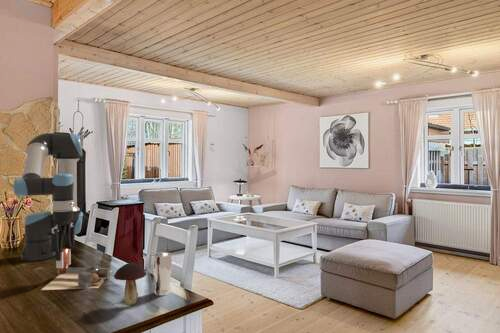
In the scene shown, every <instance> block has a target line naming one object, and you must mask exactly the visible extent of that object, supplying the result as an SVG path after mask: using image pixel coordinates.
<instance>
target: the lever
mask: <svg viewBox="0 0 500 333" xmlns="http://www.w3.org/2000/svg"><path fill="white" fill-rule="evenodd" d="M62 252H63V268H57V274H58V275H60V274H78V273H81V272H88V273H96V274H98V276H99V278H106V279H108V278H109V277H110V275H111V273H110V270H111V269H110V268H111V267H102V266H101V267H99V266H91V267H79V266H77V267H75V266H73V267H72V266H71V267H70V265H69V248H65V247H62Z"/></svg>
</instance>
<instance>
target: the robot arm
mask: <svg viewBox="0 0 500 333" xmlns="http://www.w3.org/2000/svg"><path fill="white" fill-rule="evenodd" d="M25 153H26V158H25V159H26V160H25V164H24V167H23V171H22V172H23V173H22V176H21V177H18V178H17V177H16V178H15V179H14V182H13V192H14V194H15V195H16V196H19V197H21V196H23V197H24V196H25V197H28V196H52V210H53V212H52V211H51V210H47V211H38V212H34V213H30V214H28V215H26V216H25V218H24V246H23V248H22V251H21V255H20V260H21V261H24V262H37V261H43V260H48V259H51V258H53V257H55V268H56V269H58V268H63V252H62V248H63V245H64V248H69V266H70V265H71V264H72V262H71V261H72V258H71V257H72V252H71V251H72V249H74V247H75V242H76V241H75V240H76V238H75V235H78V234H79V233H81V230H82V224H83V216H84V213H83V212H82V211H81V209H80V207H78V197H77V196H78V190H77V189H78V188H77V187H78V186H77V185H78V184H77V183H78V180H77V179H78V178H77V177H78V176H77V175H78V174H77V173H78V172H77V168H78V167H77V166H78V165H77V163H78V162H79V160H81V157H82V156H83V149H82V141H81V136H80V135H79V134H76V133H75V134H74V133H57V132H56V133H55V132H54V133H53V132H46V133H41V134H39V135H36V136H35V137H33V138H32V139H31V140H30V141H29V142H28V143H27V145H26V148H25ZM47 156H52V157H53V156H54V159H55V160H56V162H57V163H58V173H55V174H53V176H52V177H43V176H44V167H45V161H46V158H47Z"/></svg>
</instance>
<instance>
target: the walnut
mask: <svg viewBox="0 0 500 333" xmlns="http://www.w3.org/2000/svg"><path fill="white" fill-rule="evenodd" d="M98 279H99V276H98V275H97V274H96V273H92V283H96V282H97V281H98Z"/></svg>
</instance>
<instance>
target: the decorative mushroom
mask: <svg viewBox="0 0 500 333" xmlns="http://www.w3.org/2000/svg"><path fill="white" fill-rule="evenodd" d="M147 275H148V273H147V271H146V270H145V268H143V267H142V266H141V265H140V264H138V263H135V262H127V263H126V264H123V265H122V266H121V267H119V268H118V269H117V270H116V271H115V273H114V275H113V278H114V279H115V280H118V281H125V286H124V296H123V298H124V303H125V305H127V306H133V305H135V304H136V303H137V300H138V288H137V287H138V286H137V283H136V280H139V279H142V278H144V277H146V276H147Z"/></svg>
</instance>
